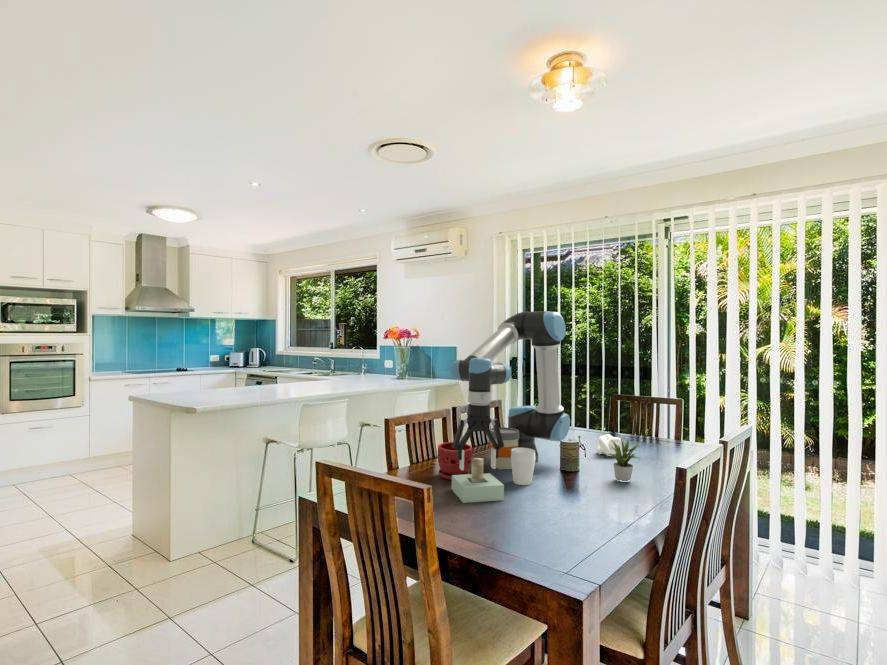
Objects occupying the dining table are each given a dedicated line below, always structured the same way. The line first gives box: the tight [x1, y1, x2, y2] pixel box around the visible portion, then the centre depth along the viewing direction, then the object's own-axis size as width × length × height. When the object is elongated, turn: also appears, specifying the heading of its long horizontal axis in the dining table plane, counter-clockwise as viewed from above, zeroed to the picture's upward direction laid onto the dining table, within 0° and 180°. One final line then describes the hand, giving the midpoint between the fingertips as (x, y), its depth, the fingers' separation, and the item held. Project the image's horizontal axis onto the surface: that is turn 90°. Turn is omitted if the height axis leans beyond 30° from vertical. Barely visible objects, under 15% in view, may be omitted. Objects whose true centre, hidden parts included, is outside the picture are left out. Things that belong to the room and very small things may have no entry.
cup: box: [511, 448, 536, 486], centre depth 190 cm, size 9×9×12 cm
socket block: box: [451, 472, 505, 504], centre depth 175 cm, size 14×14×5 cm
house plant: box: [606, 438, 642, 481], centre depth 194 cm, size 14×14×16 cm
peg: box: [471, 457, 484, 483], centre depth 175 cm, size 4×4×12 cm
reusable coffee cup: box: [488, 426, 519, 470], centre depth 211 cm, size 13×13×15 cm
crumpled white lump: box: [595, 433, 622, 457], centre depth 236 cm, size 11×12×9 cm
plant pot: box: [437, 441, 473, 481], centre depth 194 cm, size 13×13×12 cm
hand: (477, 468), depth 175 cm, fingers open, 10 cm apart
